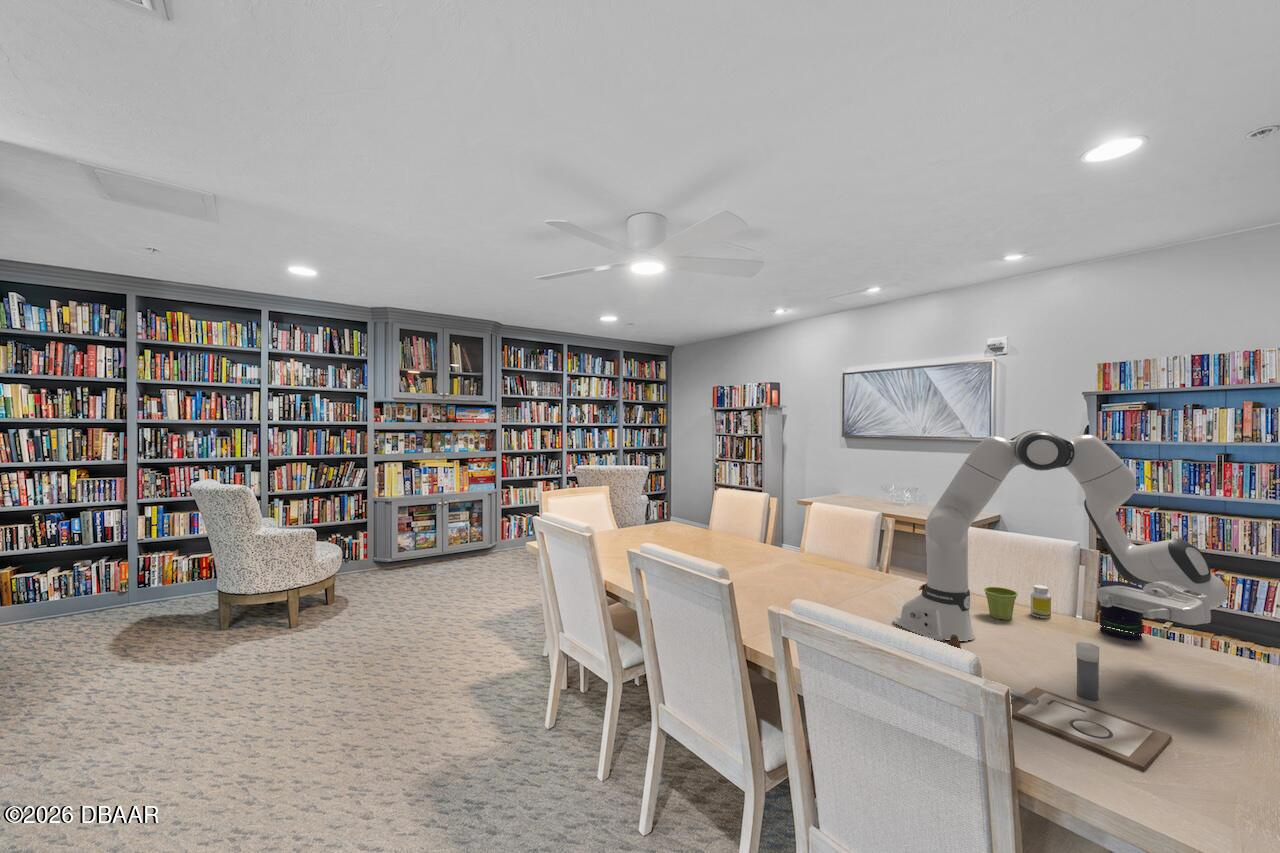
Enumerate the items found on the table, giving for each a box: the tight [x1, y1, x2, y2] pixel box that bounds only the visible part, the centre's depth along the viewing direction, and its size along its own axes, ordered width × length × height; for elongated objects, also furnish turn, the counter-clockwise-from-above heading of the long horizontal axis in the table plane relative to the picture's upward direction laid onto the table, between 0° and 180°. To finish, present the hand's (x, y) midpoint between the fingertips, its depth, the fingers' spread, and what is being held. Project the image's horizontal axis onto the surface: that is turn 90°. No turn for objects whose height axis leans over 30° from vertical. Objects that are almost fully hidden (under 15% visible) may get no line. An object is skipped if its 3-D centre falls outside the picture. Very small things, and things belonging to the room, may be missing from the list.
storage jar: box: [1098, 580, 1144, 642], centre depth 163 cm, size 10×10×15 cm
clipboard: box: [1010, 686, 1173, 772], centre depth 116 cm, size 26×18×2 cm
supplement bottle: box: [1030, 584, 1052, 619], centre depth 179 cm, size 5×5×10 cm
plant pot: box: [983, 586, 1019, 621], centre depth 178 cm, size 9×9×9 cm
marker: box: [1075, 641, 1100, 701], centre depth 127 cm, size 4×4×12 cm
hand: (1124, 608), depth 130 cm, fingers open, 8 cm apart
